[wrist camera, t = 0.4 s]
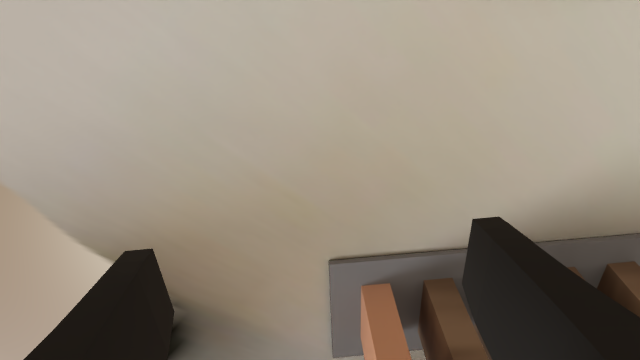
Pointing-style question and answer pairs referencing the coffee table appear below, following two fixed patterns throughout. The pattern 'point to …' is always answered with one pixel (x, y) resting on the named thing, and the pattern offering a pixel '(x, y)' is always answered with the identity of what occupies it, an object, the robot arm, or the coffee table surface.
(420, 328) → the walnut tile
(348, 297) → the grey flat rectangular plate
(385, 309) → the terracotta tile
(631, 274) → the walnut tile
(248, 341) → the coffee table surface
